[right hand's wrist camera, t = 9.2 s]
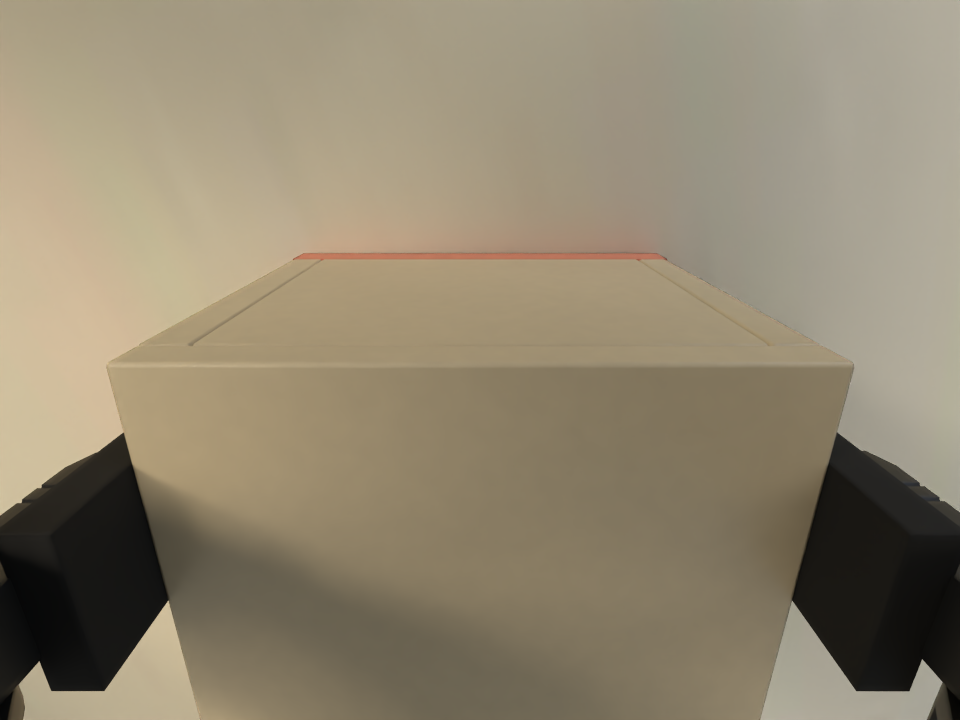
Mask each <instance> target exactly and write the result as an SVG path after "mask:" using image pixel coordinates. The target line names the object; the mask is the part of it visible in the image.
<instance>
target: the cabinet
mask: <svg viewBox="0 0 960 720" xmlns="http://www.w3.org/2000/svg"><path fill="white" fill-rule="evenodd" d="M853 370H854V364H853V363H852V362H851V361H849V360H847V359H845V358H844V357H842V356H840V355H838V354H836V353H834V352H833V351H831V350H829V349H827V348H825V347H823V346H820V345H819V344H818V343H816V342H814V341H812V340H811V339H809V338H807V337H805V336H803V335H801V334H800V333H798V332H796V331H794V330H792V329H791V328H789V327H787V326H785V325H783V324H781V323H780V322H778V321H776V320H774V319H772V318H770V317H769V316H767V315H765V314H763V313H761V312H759V311H758V310H756V309H754V308H752V307H750V306H749V305H747V304H745V303H743V302H741V301H739V300H738V299H736V298H734V297H732V296H730V295H728V294H727V293H725V292H723V291H721V290H719V289H717V288H716V287H714V286H712V285H710V284H708V283H707V282H705V281H703V280H701V279H699V278H697V277H696V276H694V275H692V274H690V273H688V272H686V271H685V270H683V269H681V268H679V267H677V266H676V265H674V264H672V263H670V262H668V261H667V259H666V258H664V257H662V256H660V255H659V254H356V253H355V254H354V253H303V254H302V255H300V256H298V257H296V258H294V259H293V261H291V262H289V263H287V264H285V265H284V266H282V267H280V268H278V269H276V270H274V271H273V272H271V273H269V274H267V275H265V276H263V277H262V278H260V279H258V280H256V281H254V282H252V283H251V284H249V285H247V286H245V287H243V288H241V289H240V290H238V291H236V292H234V293H232V294H230V295H229V296H227V297H225V298H223V299H221V300H220V301H218V302H216V303H214V304H212V305H210V306H209V307H207V308H205V309H203V310H201V311H199V312H198V313H196V314H194V315H192V316H190V317H188V318H187V319H185V320H183V321H181V322H179V323H177V324H176V325H174V326H172V327H170V328H168V329H166V330H165V331H163V332H161V333H159V334H157V335H155V336H154V337H152V338H150V339H148V340H146V341H144V342H143V343H141V344H140V345H139V346H138V347H135V348H134V349H132V350H130V351H128V352H126V353H124V354H123V355H121V356H119V357H117V358H115V359H113V360H112V361H110V362H108V364H107V371H108V375H109V379H110V382H111V386H112V390H113V394H114V397H115V401H116V405H117V409H118V412H119V416H120V420H121V424H122V427H123V431H124V435H125V439H126V442H127V446H128V450H129V454H130V457H131V461H132V465H133V469H134V472H135V476H136V480H137V484H138V487H139V491H140V495H141V499H142V502H143V506H144V510H145V514H146V517H147V521H148V525H149V529H150V532H151V536H152V540H153V544H154V547H155V551H156V555H157V559H158V562H159V566H160V570H161V574H162V577H163V581H164V585H165V589H166V592H167V596H168V600H169V604H170V607H171V611H172V615H173V619H174V622H175V626H176V630H177V634H178V638H179V641H180V645H181V649H182V653H183V656H184V660H185V664H186V668H187V671H188V675H189V679H190V683H191V686H192V690H193V694H194V698H195V701H196V705H197V709H198V713H199V716H200V720H760V718H761V714H762V710H763V707H764V703H765V699H766V695H767V692H768V688H769V684H770V680H771V677H772V673H773V669H774V665H775V662H776V658H777V654H778V650H779V647H780V643H781V639H782V635H783V632H784V628H785V624H786V621H787V617H788V613H789V609H790V606H791V602H792V598H793V594H794V591H795V587H796V583H797V579H798V576H799V572H800V568H801V564H802V561H803V557H804V553H805V549H806V546H807V542H808V538H809V535H810V531H811V527H812V523H813V520H814V516H815V512H816V508H817V505H818V501H819V497H820V493H821V490H822V486H823V482H824V478H825V475H826V471H827V467H828V463H829V460H830V456H831V452H832V449H833V445H834V441H835V437H836V434H837V430H838V426H839V422H840V419H841V415H842V411H843V407H844V404H845V400H846V396H847V392H848V389H849V385H850V381H851V377H852V374H853Z"/></svg>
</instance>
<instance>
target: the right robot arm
mask: <svg viewBox="0 0 960 720" xmlns="http://www.w3.org/2000/svg"><path fill="white" fill-rule="evenodd" d="M167 601H168V596H167V592H166V589H165V585H164V581H163V577H162V574H161V570H160V566H159V562H158V559H157V555H156V551H155V547H154V544H153V540H152V536H151V532H150V529H149V525H148V521H147V517H146V514H145V510H144V506H143V502H142V499H141V495H140V491H139V487H138V484H137V480H136V476H135V472H134V469H133V465H132V461H131V457H130V454H129V450H128V446H127V442H126V439H125V435H124V433H122V434H121V435H120V436H118V437H117V438H116V439H115V440H113V441H112V442H111V443H109V444H108V445H107V446H105V447H104V448H103V449H101V450H100V451H99V452H98V453H94V454H92V455H90V456H88V457H86V458H84V459H82V460H80V461H78V462H76V463H74V464H71V465H69V466H67V467H65V468H64V469H63V470H61V471H60V472H59V473H57V474H56V475H54V476H53V477H52V478H50V479H49V480H48V481H46V482H45V483H44V484H42V488H37V489H36V490H34V491H33V492H32V493H30V494H29V495H28V496H26V497H25V498H24V499H22V503H17V504H15V505H14V506H13V507H11V508H10V509H9V510H7V511H6V512H5V513H3V514H2V515H1V516H0V720H23V716H24V710H25V705H24V699H23V695H22V692H21V690H20V688H19V683H20V682H21V681H22V680H23V679H24V678H25V677H26V675H27V674H28V673H29V672H30V671H31V670H32V669H33V667H34V666H35V665H36V664H37V663H38V662H39V661H40V663H41V666H42V668H43V671H44V674H45V676H46V679H47V681H48V684H49V686H50V689H51V691H105V689H106V688H107V686H108V685H109V683H110V682H111V681H112V679H113V678H114V676H115V675H116V674H117V672H118V671H119V669H120V668H121V666H122V665H123V664H124V662H125V661H126V659H127V658H128V657H129V655H130V654H131V652H132V651H133V649H134V648H135V647H136V645H137V644H138V642H139V641H140V640H141V638H142V637H143V635H144V634H145V633H146V631H147V630H148V628H149V627H150V625H151V624H152V623H153V621H154V620H155V618H156V617H157V616H158V614H159V613H160V611H161V610H162V608H163V607H164V606H165V604H166V603H167ZM792 601H793V602H794V603H795V605H796V606H797V608H798V609H799V610H800V612H801V613H802V615H803V616H804V618H805V619H806V620H807V622H808V623H809V625H810V626H811V627H812V629H813V630H814V632H815V633H816V634H817V636H818V637H819V639H820V640H821V642H822V643H823V644H824V646H825V647H826V649H827V650H828V651H829V653H830V654H831V656H832V657H833V659H834V660H835V661H836V663H837V664H838V666H839V667H840V668H841V670H842V671H843V673H844V674H845V676H846V677H847V678H848V680H849V681H850V683H851V684H852V685H853V687H854V688H855V690H856V691H910V688H911V686H912V683H913V681H914V678H915V676H916V673H917V671H918V668H919V666H920V663H921V661H922V659H923V660H924V661H925V662H926V664H927V665H928V666H929V667H930V668H931V669H932V670H933V672H934V673H935V674H936V675H937V676H938V677H939V678H940V679H941V681H942V682H943V683H942V685H941V688H940V690H939V692H938V695H937V697H936V699H935V702H934V704H933V707H932V709H931V711H930V714H929V716H928V718H927V720H960V512H958V511H957V510H956V509H954V508H953V507H952V506H950V505H949V504H948V503H946V502H945V501H940V500H939V497H938V496H937V495H935V494H934V493H933V492H931V491H930V490H929V489H927V488H926V487H924V486H920V483H919V482H918V481H916V480H915V479H914V478H912V477H911V476H910V475H908V474H907V473H905V472H904V471H903V470H901V469H900V468H899V467H897V466H896V465H894V464H892V463H890V462H888V461H885V460H883V459H881V458H879V457H877V456H875V455H873V454H871V453H869V452H867V451H860V450H859V449H858V448H857V447H855V446H854V445H853V444H851V443H850V442H849V441H847V440H846V439H845V438H844V437H842V436H841V435H840V434H838V433H837V434H836V437H835V441H834V445H833V449H832V452H831V456H830V460H829V463H828V467H827V471H826V475H825V478H824V482H823V486H822V490H821V493H820V497H819V501H818V505H817V508H816V512H815V516H814V520H813V523H812V527H811V531H810V535H809V538H808V542H807V546H806V549H805V553H804V557H803V561H802V564H801V568H800V572H799V576H798V579H797V583H796V587H795V591H794V594H793V598H792Z"/></svg>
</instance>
